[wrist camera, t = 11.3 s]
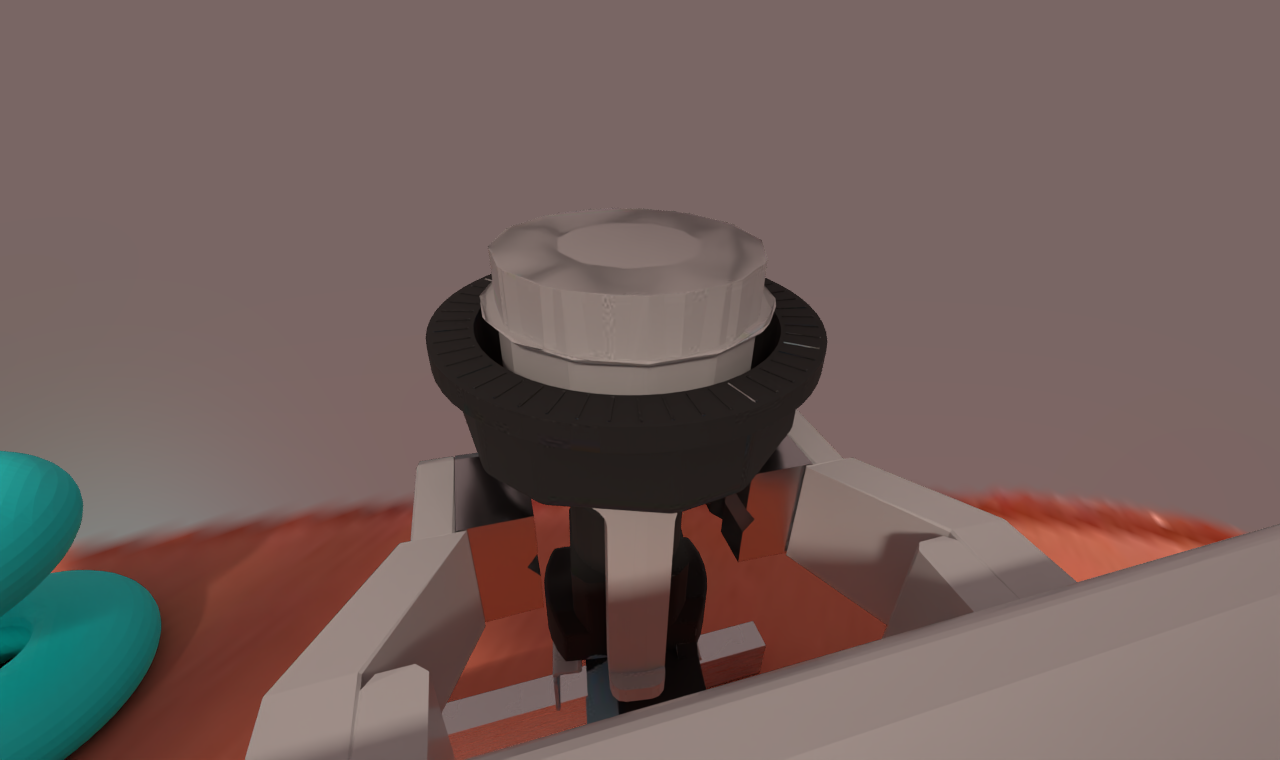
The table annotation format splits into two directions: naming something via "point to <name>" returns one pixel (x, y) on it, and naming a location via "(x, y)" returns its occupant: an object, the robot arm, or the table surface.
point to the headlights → (577, 697)
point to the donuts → (61, 620)
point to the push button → (626, 416)
